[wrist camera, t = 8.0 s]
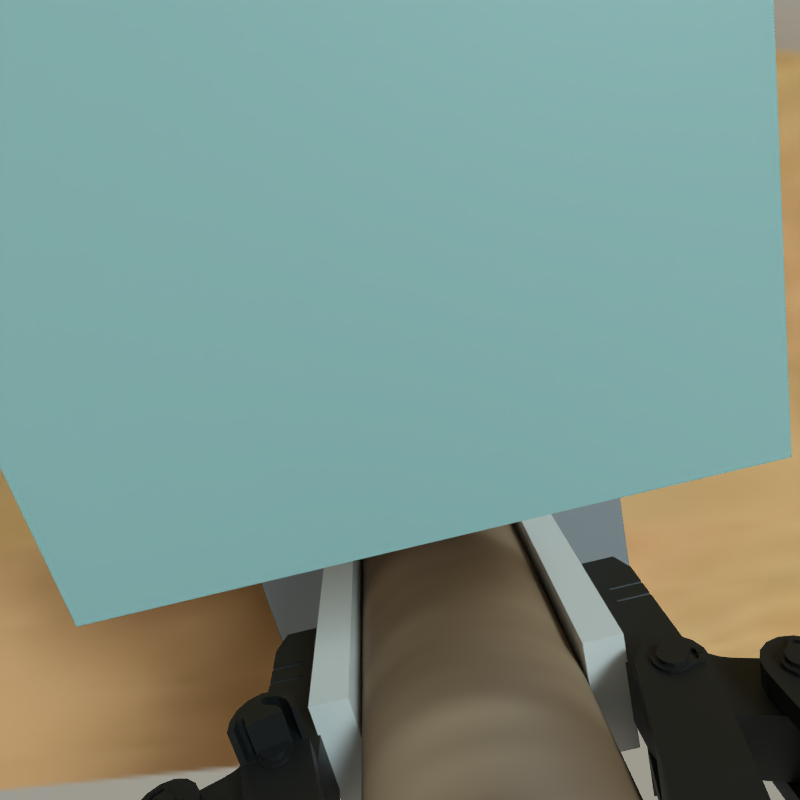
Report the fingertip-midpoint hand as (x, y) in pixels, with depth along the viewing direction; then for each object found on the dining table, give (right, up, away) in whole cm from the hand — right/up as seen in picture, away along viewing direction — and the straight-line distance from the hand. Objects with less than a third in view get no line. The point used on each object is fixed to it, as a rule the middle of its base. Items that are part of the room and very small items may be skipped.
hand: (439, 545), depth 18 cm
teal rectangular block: (-2, +10, +3) cm, 11 cm away
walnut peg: (0, +1, +4) cm, 4 cm away
